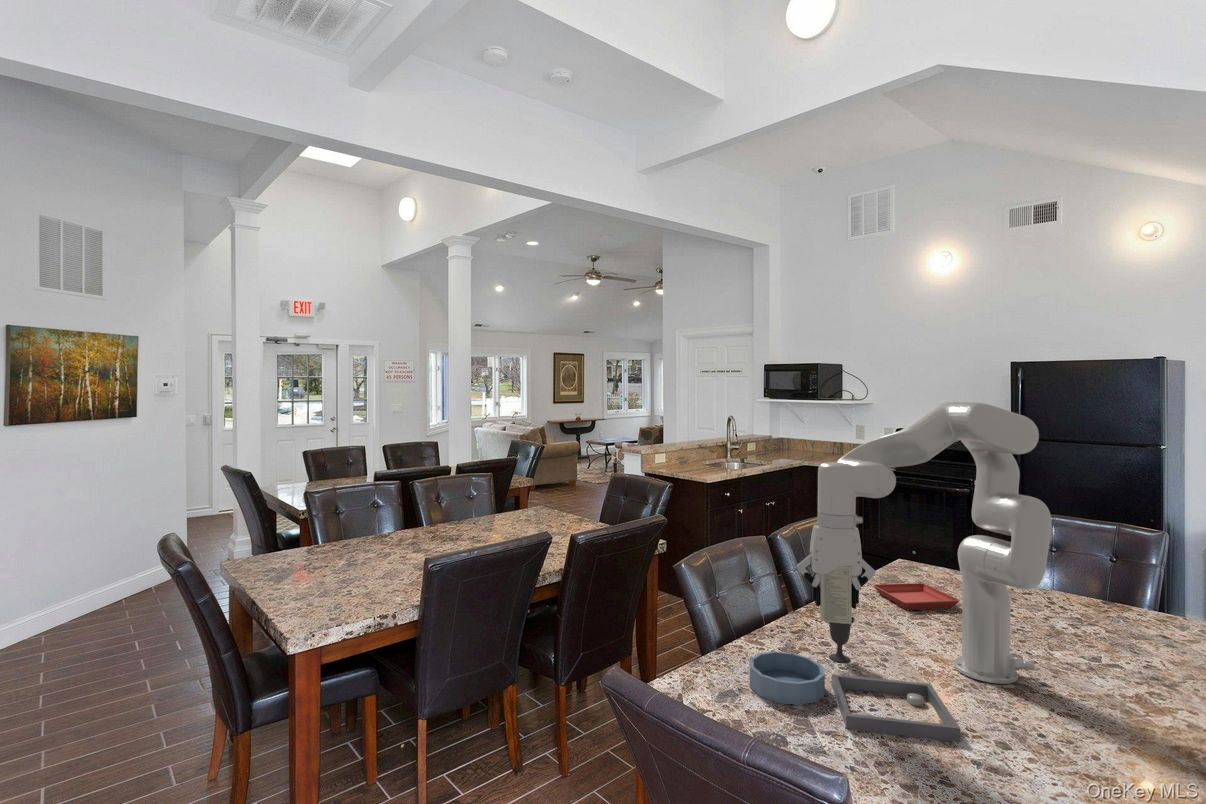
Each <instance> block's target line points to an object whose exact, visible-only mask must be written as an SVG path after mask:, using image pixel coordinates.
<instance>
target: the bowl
mask: <svg viewBox="0 0 1206 804" xmlns="http://www.w3.org/2000/svg"><path fill="white" fill-rule="evenodd" d="M749 688H750V689H751V690H753V692H754V693H756V694H757V695H758V696H759V697H760V698H764V699H766V700H769V701H771V702H774V703H777V704H781V705H782V704H783V705H790V704H794V705H793V706H803V705H802V704H805V705H807V704H806V703H811V704H814V703H813V702H817V701H818V702H819V701H821V699H822V698H824V697H825V693H826V690H825V688H826V674H825V671H824V668H823V665H822V664H820V663H818V662H817V661H816V660H814V659H813V658H811V657H807V656H804V655H802V654H798V653H795V652H788V651H777V650H773V651H765V652H759V653H756V654H755V655H753V656H752V657H750V658H749ZM818 702H817V703H818Z"/></svg>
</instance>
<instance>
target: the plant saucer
mask: <svg viewBox="0 0 1206 804" xmlns="http://www.w3.org/2000/svg"><path fill="white" fill-rule="evenodd" d="M873 588H874V589H875V590H876V592H877V593H878V594H879V595H880V594H881V596H882V597H883V596H884V597H883V598H885V597H886V598H885V599H887V600H889V601H891V602H892V601H893V602H892V603H894V604H896V605H898V606H899V605H900V606H899V607H901V608H903V609H905V610H907V609H909V610H908V611H911V610H910V609H920V610H940V609H941V608H948V609H951V608H953V607H954V606H956V605H957V604H958V603H959V602H960V601H961V600H960V599H958V598H957V597H954V596H952V595H950V594H947V593H945V592H943V591H941V590H940V589H937V588H935V587H932V586H931V585H929V584H926V583H925V582H924V583H923V582H922V583H921V582H920V583H919V582H916V583H911V582H910V583H887V584H873ZM941 610H942V609H941Z"/></svg>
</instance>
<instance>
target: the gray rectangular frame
mask: <svg viewBox="0 0 1206 804" xmlns="http://www.w3.org/2000/svg"><path fill="white" fill-rule="evenodd" d="M831 687H832V689H833V693H834V696H835V699H836V702H838V703H837V705H838V708H839V711H840V714H841V717H842V720H843V723H844V726H845V729H847V730H853V731H864V732H870V733H879V734H886V735H887V734H889V735H897V736H907V737H915V738H920V739H921V738H923V739H931V740H932V739H933V740H940V741H948V742H949V741H950V742H957V743H961V735H962V734H961V730H962V729H961V727H960V726H959V724H958V723H957V721H956V720H955V718H954V717H953V714H951V712H950V710H949V709H948V708H947V706H946V705H945V703H944V702H943V701H942V699H941V697H940V695H939V694H938V693H937V691H936V690H935V689H934V686H932V684H931V683H926V682H917V681H916V682H915V681H904V680H897V679H896V680H894V679H887V678H885V679H883V678H874V677H865V676H864V677H863V676H855V675H844V674H843V675H842V674H833V673H832V674H831ZM843 689H845V690H852V691H853V690H854V691H862V690H863V692H871V691H873V692H872V693H874V691H875V693H881V692H885V693H884V694H891V693H892V695H902V696H907V694H909V693H915V694H919V695H921V696H923V697H924V698H927V700H928V702H929V704H931V707H932V708H933V709H934V711H935V714H936V715H937V716H938V718H939V719H940V721H941V722H942V723H937V722H927V721H918V720H909V719H900V718H891V717H884V716H883V717H882V716H873V715H872V716H866V715H857V714H856V713H852V712H851V711H850V707H849V705H848V702H847V700H846V699H847V698H846V697H845V696H846V695H845V694H844V691H843Z"/></svg>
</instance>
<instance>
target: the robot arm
mask: <svg viewBox="0 0 1206 804" xmlns="http://www.w3.org/2000/svg"><path fill="white" fill-rule="evenodd" d="M1039 436H1040V433H1039V428H1038V427H1037V424H1035V422H1034V421H1033V420H1032V419H1031V418H1029V417H1027V416H1026V415H1022V414H1020V413H1017V412H1013V411H1010V410H1007V409H1004V408H1001V407H997V406H995V405H992V404H988V403H983V402H970V401H969V402H968V401H967V402H961V401H960V402H959V401H958V402H955V401H953V402H951V401H950V402H944V403H940V404H938V405H936V406H935V407H933V408H931V409H930V410H929V411H927V412H925V413H924V414H923V415H922V416H920V417H918V418H917V419H915V420H914V421H913V422H911V423H909V424H908V425H906V426H905V427H904V428H902V429H901V430H898V431H895V432H892V433H889V434H886V435H884V436H883V435H882V436H881V437H879V438H875V439H873V440H870V441H867V442H865V443H862V444H861V445H858V446H856V447H855V448H853V449H852V450H850V451H848V452H846V453H845V454H844V455H843V456H841V457H840V458H839V459H838V460H837V461H833V462H832V461H831V462H830V461H829V462H826V461H825V462H823V463H821V464H820V465H819V466H818V469H817V517H816V518H817V522H816V523H817V524H814V525H813V526H812V529H811V530H812V531H811V537H810V543H809V555H807V556H806V557H804V559H803V560H801V561H800V562H799V563H797V564H796V569H797V571H799V573H800V574H801V575H802V576H803V577H804V578H805V579H806V580H807V581H808V582H809V583H810V584H811V600H812V601H814V604H815V606H817V607H820V591H821V589H820V575H821V574H827V573H829V572H831V571H833V570H835V569H836V568H838V567H839V566H845V567H851V601H852V610H855V609H856V610H857V605H859V602H860V590H861V589H862V587H863V586H865V585H866V584H867V583H868V582H869V580H871V579H872V578H873V577H874V576H875V575H876V574H877V572H876V570H875V569H874V568H873V567H872V566H871V565H870V564H868V563H867V562H866V561H865V560H864V559H863V555H862V553H863V552H862V543H861V537H860V531H859V528H858V527H857V525H859V524H863V521H864V519H863V518H864V517H863V516H858V515H857V514H856V505H857V503H856V502H857V501H856V500H857V499H856V498H857V497H862V498H863V497H864V498H870V499H881V498H885V497H887V496H889V495H890V494H891V493H892V492H893V491H894V489H895V487H896V485H897V477H896V474H895V473H894V471H893V470H892V469H891V468H898V467H900V468H901V467H909V466H915V465H920V464H923V463H927V462H928V461H929V460H931V459H932V458H935V456H937V455H938V454H940V453H941V452H942V451H944V450H945V449H947V448H948V447H950V446H951V445H953V444H954V443H955V442H958V441H960V442H961V443H962V444H963V445H964V447H966V450H968V452H970V454H971V456H972V458H973V461H974V463H975V466H976V467H975V468H976V473H975V474H976V475H975V477H976V478H975V485H974V492H973V498H972V506H971V518H972V522H973V523H974V524H975V526H977V527H979V528H981V529H983V530H985V531H990V532H993V533H998V534H1001V535H1006V536H1008V537H1009V536H1011V539H1010V540H1011V541H1007V540H1004V539H1000V538H997V537H992V536H989V535H982V534H980V535H979V534H977V535H976V534H975V535H969V536H967V537H965V538H963V540H962V541H961V542H960V544H959V546H958V549H957V561H958V565H959V571H960V576H961V586H962V587H961V588H962V590H961V591H962V603H961V604H962V605H961V606H962V609H961V610H962V612H961V613H962V614H961V615H962V616H961V656H958V657H956V658H955V659H954V660H953V665H954V668H955V669H956V671H958V672H959V673H961V674H963V675H964V676H966V677H968V678H970V679H974V680H978V681H981V682H984V683H990V684H997V685H998V684H1000V685H1004V684H1005V685H1008V684H1014V683H1016V682H1018V679H1019V673H1018V671H1019V670H1024V671H1035V664H1034V662H1033V661H1031V660H1030V661H1028V660H1023V658H1022V657H1016V656H1015V657H1014V656H1012V655H1011V610H1012V609H1011V606H1012V604H1011V603H1012V601H1011V597H1010V592H1009V589H1008V588H1007V586H1008V587H1011V588H1016V589H1018V590H1024V591H1026V590H1027V591H1029V590H1031V591H1032V590H1034V589H1035V588H1037V587H1039V585H1040V584H1041V583H1042V581H1043V579H1044V576H1045V573H1046V567H1047V562H1048V555H1049V548H1050V541H1051V535H1052V534H1051V533H1052V526H1053V524H1052V523H1053V521H1052V514H1051V512H1050V510H1049V507H1048V506H1047V505H1046V503H1045V502H1043V500H1041V499H1039V498H1037V497H1033V496H1030V495H1025V494H1019V491H1020V490H1019V488H1020V477H1021V475H1020V467H1019V465H1018V462H1017V459H1016V458H1015V457H1014V455H1025V454H1027V453H1030V452H1031V451H1033V450H1034V449H1035V448H1036V447H1037V444H1038V443H1039V439H1040V437H1039ZM808 566H809V567H810V568H811V571H812V572H813V573H812V574H811V573H810V572H809V571H808V570H807V569H806V568H807V567H808ZM863 569H864V570H865V572H864V573H863ZM862 573H863V574H862Z"/></svg>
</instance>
